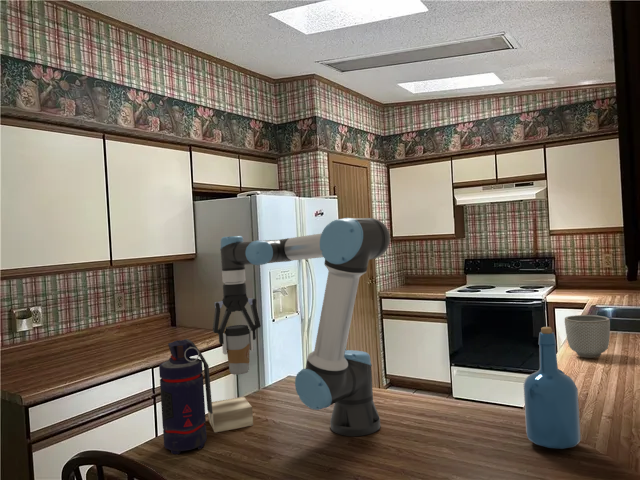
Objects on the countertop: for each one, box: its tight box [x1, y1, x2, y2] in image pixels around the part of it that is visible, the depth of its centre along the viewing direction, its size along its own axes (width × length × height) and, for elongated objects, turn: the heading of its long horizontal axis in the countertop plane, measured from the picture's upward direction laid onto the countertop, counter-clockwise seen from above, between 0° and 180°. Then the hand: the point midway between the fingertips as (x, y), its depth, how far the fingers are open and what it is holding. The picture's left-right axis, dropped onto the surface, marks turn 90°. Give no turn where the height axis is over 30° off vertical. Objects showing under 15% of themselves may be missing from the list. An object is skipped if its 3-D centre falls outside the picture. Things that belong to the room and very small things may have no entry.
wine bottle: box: [523, 326, 581, 450], centre depth 136 cm, size 14×13×30 cm
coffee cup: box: [224, 324, 251, 376], centre depth 170 cm, size 8×8×15 cm
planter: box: [564, 314, 611, 359], centre depth 221 cm, size 17×17×16 cm
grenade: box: [158, 338, 213, 455], centre depth 147 cm, size 14×12×30 cm
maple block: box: [207, 396, 254, 433], centre depth 164 cm, size 12×12×6 cm
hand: (238, 351), depth 170 cm, fingers closed on coffee cup, 8 cm apart
